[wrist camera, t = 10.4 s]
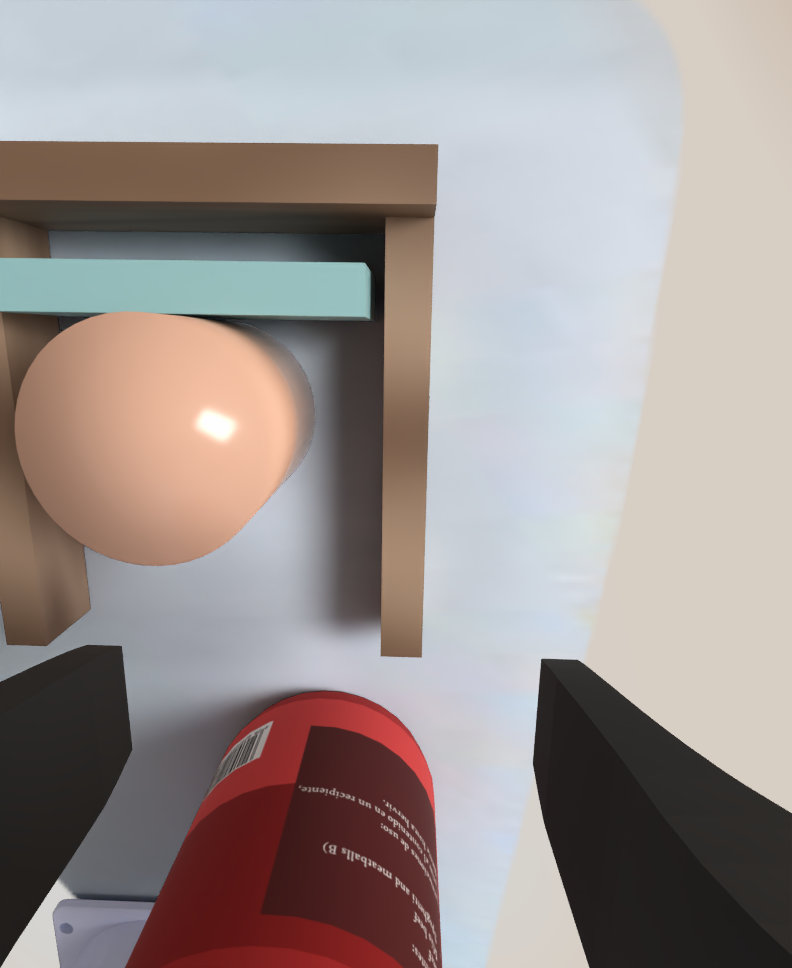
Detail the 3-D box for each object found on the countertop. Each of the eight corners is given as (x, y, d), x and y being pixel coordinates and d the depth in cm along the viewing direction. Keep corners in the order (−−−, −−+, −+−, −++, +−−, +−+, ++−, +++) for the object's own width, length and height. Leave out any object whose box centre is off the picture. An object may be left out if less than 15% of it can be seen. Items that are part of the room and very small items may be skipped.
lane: (420, 618, 20) (421, 686, 16) (55, 608, 20) (-30, 672, 16) (433, 189, 17) (438, 144, 13) (1, 185, 17) (-120, 140, 13)
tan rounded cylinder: (321, 330, 18) (276, 326, 12) (309, 506, 19) (263, 578, 13) (140, 311, 18) (7, 297, 12) (139, 487, 19) (20, 551, 13)
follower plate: (374, 321, 18) (364, 316, 14) (66, 316, 18) (-19, 310, 14) (375, 277, 17) (364, 262, 14) (62, 273, 18) (-26, 257, 14)
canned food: (220, 859, 23) (45, 1326, 12) (225, 671, 21) (22, 1025, 10) (421, 880, 23) (427, 1368, 12) (445, 693, 21) (477, 1073, 10)
